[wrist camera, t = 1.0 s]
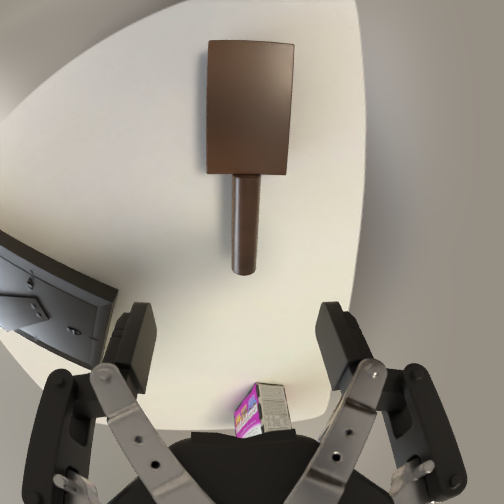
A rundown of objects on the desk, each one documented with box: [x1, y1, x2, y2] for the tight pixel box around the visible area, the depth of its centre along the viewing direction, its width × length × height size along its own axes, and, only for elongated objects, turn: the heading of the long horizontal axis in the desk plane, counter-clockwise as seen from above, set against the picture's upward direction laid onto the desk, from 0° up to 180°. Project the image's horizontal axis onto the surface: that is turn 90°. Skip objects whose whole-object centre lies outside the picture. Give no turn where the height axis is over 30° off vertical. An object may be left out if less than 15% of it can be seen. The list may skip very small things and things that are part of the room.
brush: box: [206, 40, 294, 276], centre depth 19 cm, size 18×6×4 cm, turn 178°
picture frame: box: [0, 230, 118, 371], centre depth 26 cm, size 16×3×21 cm
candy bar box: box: [234, 383, 292, 438], centre depth 34 cm, size 11×5×16 cm, turn 160°
